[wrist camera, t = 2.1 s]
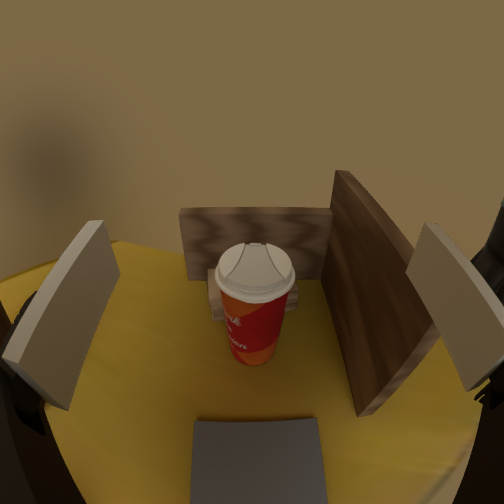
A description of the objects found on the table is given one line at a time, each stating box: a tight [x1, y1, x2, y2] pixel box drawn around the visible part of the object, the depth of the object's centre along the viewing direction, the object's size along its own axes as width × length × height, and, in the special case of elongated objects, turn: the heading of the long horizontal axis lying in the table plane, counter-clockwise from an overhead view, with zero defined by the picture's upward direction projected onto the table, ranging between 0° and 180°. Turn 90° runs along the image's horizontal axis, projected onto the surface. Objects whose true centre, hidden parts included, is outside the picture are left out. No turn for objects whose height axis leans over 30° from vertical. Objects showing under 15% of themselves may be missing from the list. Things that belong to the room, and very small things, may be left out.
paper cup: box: [215, 243, 295, 366], centre depth 30 cm, size 8×8×14 cm
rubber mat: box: [190, 418, 328, 504], centre depth 20 cm, size 13×13×1 cm
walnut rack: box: [179, 170, 440, 417], centre depth 30 cm, size 24×26×18 cm
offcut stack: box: [206, 269, 299, 321], centre depth 40 cm, size 12×7×4 cm, turn 101°
